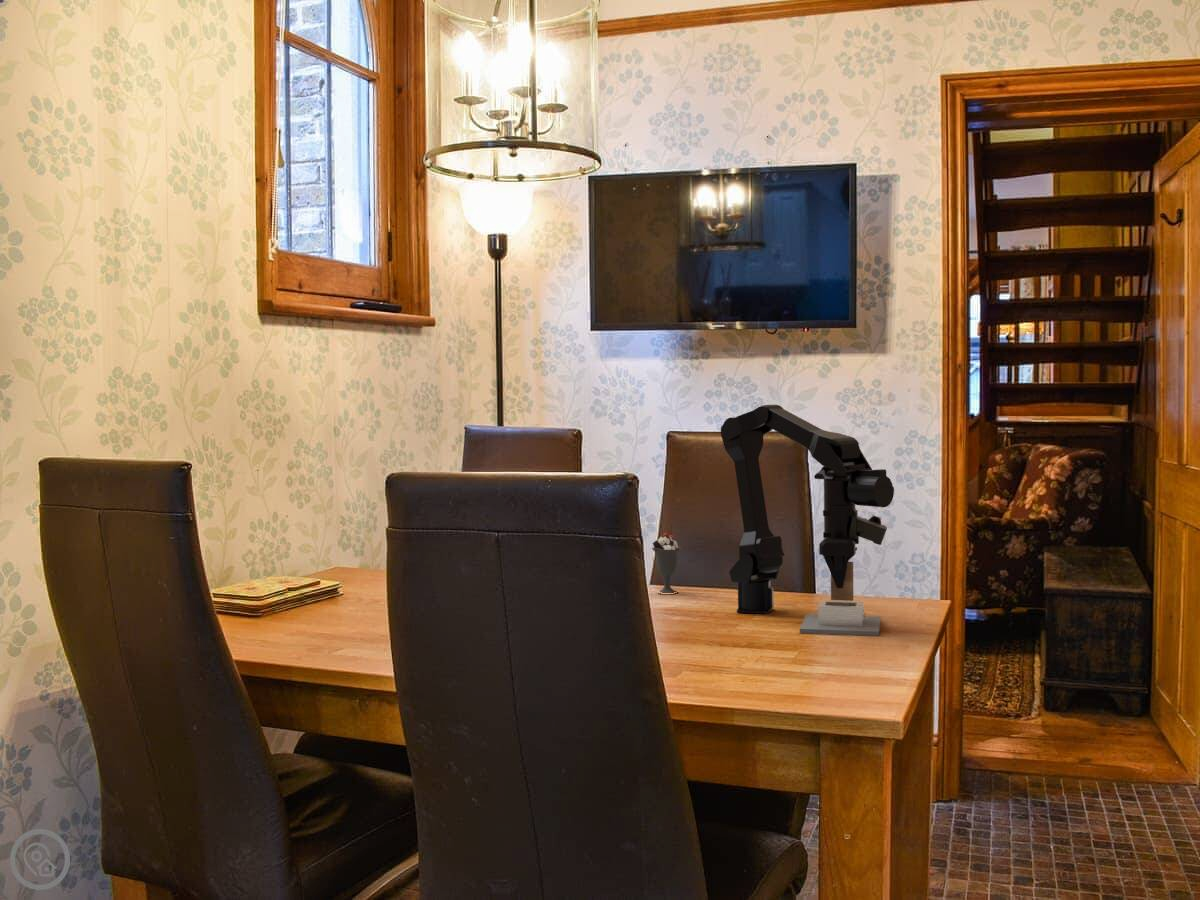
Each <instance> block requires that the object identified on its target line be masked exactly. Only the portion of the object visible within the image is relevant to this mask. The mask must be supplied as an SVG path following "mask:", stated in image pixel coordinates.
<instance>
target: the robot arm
mask: <svg viewBox="0 0 1200 900" xmlns="http://www.w3.org/2000/svg"><path fill="white" fill-rule="evenodd" d="M772 431H775V432H777V433H778V434H780V435H782V436H783V437H786V438H788V439H789V440H791V441H793V442H795V443H797V444H798V445H800V446H802V447H803V448H805V449H806V450H807V451H809V453H810V455H811V457H812V458H813V459H814V460H815V461H816V462H817V463H819V464H820V465H821V466H822V467H821V468H820V470H819V471H818V472H817V473H815V474H814V476H813V477H814V479H815V480H823V511H822V516H823V530H824V531H823V532H822V533H823V539H822V540H821V541H820V542H819V544H818V545H819V551H818V552H819V554H818V555H820V556H821V555H822V557H823V559H824V561H825V563H826V565H827V568H828V570H829V572H830V576H831V575H832V577H833V580H834V582H835V584H836V587H837V588H843V585H844V580H845V574H846V568H847V563H848V562H850V560H851V559H852V558H853V557H854V556H855V555H856V553H857V550H858V547H857V546H856V545H859V543H860V538H863V539H865V540H868V541H871V542H872V543H873V544H874V545H879V546H882V543H883V540H884V537H885V536H886V532H887V530H888V526H886V525H884V524H882V521H881V519H882V518H881V517H879V516H876V515H872V516H871V517H869V518H864V517H861V516H859V515H858V512H859V511H858V510H857V508H856V506H860V507H861V506H862V507H863V506H864V507H872V508H873V507H875V508H887V507H889V506H890V504H892V501H893V499H894V496H895V486H893V485H894V484H893V483H892V480H891V479H890V478H889V476H887V469H883V468H881V469H872V467H871V465H870V463H869V462H868V460H867V458H866V457H865V455H864V453H863V452H862V449H861V448H860V443H859V441H858V440H857V439H856V438H855V437H853V436H849V435H846V434H842V433H839V432H833V431H829V430H824V429H821V428H820V427H818V426H816V425H814V424H812V423H810V422H808V421H807V420H805V419H803V418H801V417H799V416H797V415H795V414H793V413H792V412H790V411H788V410H786V409H784V407H782V405H779V404H762V405H760V406H758V407H756V408H755V409H753V410H750V411H748V412H745V413H742V414H740V415H738V416H734V417H733V416H732V417H728V418H726V419H725V420H724V422H723V423H722V425H721V426H720V436H721V440H722V444H723V448H724V450H725V452H726V453H727V454H728V456H729V457H730V458H731V460H732V461H733V463H734V470H735V478H736V483H737V484H736V485H737V490H738V497H739V498H738V499H739V503H740V504H739V505H740V509H741V510H740V511H741V517H742V525H743V535H742V538H741V540H740V543H739V547H738V548H739V549H738V550H739V554H738V555H739V557H738V558H739V559H738V560H737V561H736V562H735V564H734V565H733V566H732V567H731V568H730V569H729V571H728V572H729V573H728V574H729V576H730V580H731V582H733V583H737V606H738V607H737V609H736V613H739V614H740V613H741V614H742V613H747V614H749V613H750V614H769V613H770V612H771V610H773V608H774V607H775V605H774V603H775V602H774V587H773V586H771V580H777V577H778V575H779V571H780V568H781V566H783V563H784V562H783V557H784V556H785V553H784V551H783V550H784V549H783V545H782V543H783V542H782V540H783V539H782V537H781V536H780V535H775V536H774V534H773V532H772V531H771V530H770V527H769V521H768V514H767V508H766V507H767V506H766V501H765V494H764V487H763V479H762V474H761V467H760V455H761V453H762V450H763V447H764V436H765V435H767V434H769V433H770V432H772Z"/></svg>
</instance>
